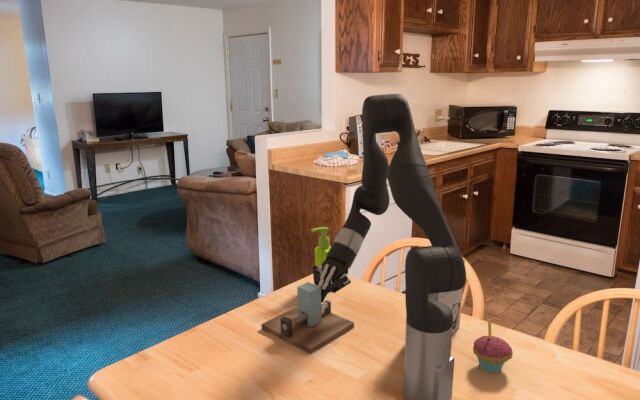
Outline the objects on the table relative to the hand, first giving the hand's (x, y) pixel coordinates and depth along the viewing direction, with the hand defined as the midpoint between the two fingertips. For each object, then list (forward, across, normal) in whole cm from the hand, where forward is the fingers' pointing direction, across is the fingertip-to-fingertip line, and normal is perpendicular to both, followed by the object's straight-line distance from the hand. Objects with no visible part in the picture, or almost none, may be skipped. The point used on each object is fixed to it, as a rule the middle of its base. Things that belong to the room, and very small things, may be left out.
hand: (316, 302), depth 131 cm
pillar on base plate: (+7, 0, +2) cm, 7 cm away
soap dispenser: (-8, -14, +17) cm, 24 cm away
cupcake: (-4, +44, +13) cm, 46 cm away
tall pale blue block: (+5, 0, +1) cm, 5 cm away
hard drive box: (-7, +27, +16) cm, 32 cm away
